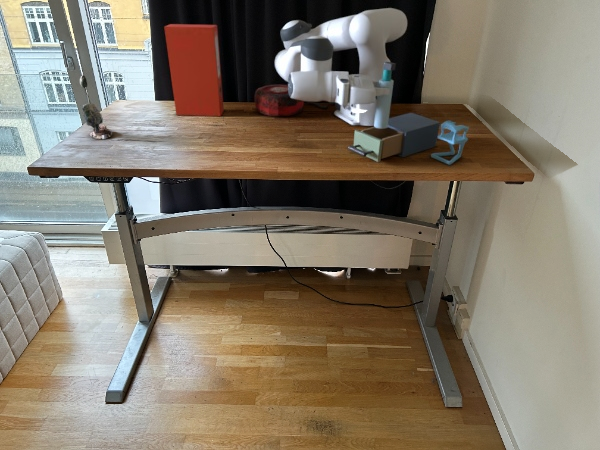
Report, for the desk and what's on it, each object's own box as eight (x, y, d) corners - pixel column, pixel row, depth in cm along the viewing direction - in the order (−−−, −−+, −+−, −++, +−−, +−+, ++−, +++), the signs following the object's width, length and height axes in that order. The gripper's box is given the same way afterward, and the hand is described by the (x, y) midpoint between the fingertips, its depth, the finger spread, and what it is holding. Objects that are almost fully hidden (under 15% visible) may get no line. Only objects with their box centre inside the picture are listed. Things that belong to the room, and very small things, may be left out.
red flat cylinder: (313, 111, 177) (281, 100, 189) (314, 90, 173) (280, 80, 185) (277, 121, 165) (244, 109, 177) (277, 99, 161) (243, 88, 173)
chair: (466, 159, 137) (475, 122, 131) (449, 165, 133) (457, 127, 127) (447, 151, 143) (455, 115, 136) (430, 156, 139) (437, 120, 132)
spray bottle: (371, 125, 135) (378, 62, 125) (380, 123, 137) (388, 60, 127) (380, 129, 132) (388, 64, 122) (390, 127, 134) (398, 63, 124)
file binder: (181, 109, 177) (170, 23, 160) (223, 110, 177) (217, 24, 160) (176, 115, 170) (164, 26, 153) (220, 116, 170) (212, 27, 153)
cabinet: (402, 157, 138) (406, 132, 133) (374, 145, 146) (377, 121, 142) (435, 146, 146) (440, 122, 142) (407, 135, 155) (411, 112, 150)
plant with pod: (81, 142, 145) (64, 81, 134) (95, 130, 154) (81, 72, 144) (105, 142, 145) (90, 81, 134) (118, 131, 154) (105, 73, 144)
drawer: (367, 165, 130) (369, 144, 127) (342, 153, 138) (344, 133, 134) (411, 151, 140) (414, 131, 137) (386, 140, 148) (388, 121, 144)
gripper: (340, 88, 140) (383, 90, 139) (341, 107, 122) (391, 109, 122) (341, 68, 136) (385, 69, 136) (343, 84, 119) (394, 86, 118)
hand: (388, 88), depth 128 cm, fingers closed on spray bottle, 4 cm apart
